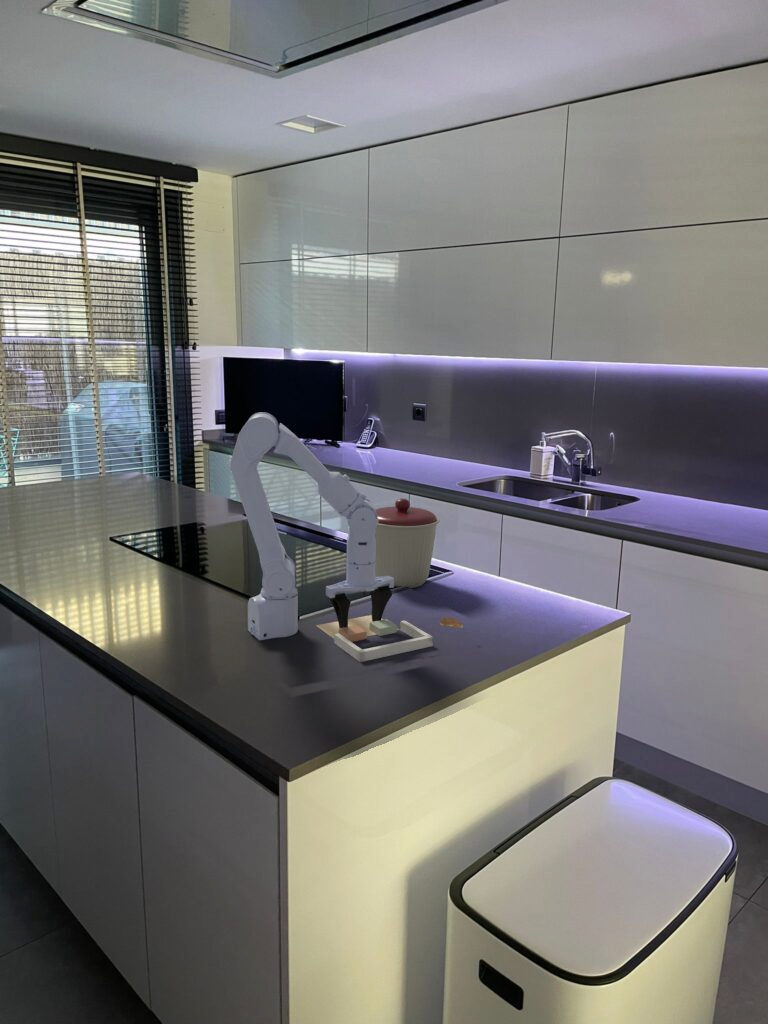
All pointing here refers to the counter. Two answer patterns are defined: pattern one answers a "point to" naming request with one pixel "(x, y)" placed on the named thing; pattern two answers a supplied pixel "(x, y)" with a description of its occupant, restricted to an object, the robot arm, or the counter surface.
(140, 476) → the counter surface
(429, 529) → the canister
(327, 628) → the maple board
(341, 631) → the terracotta tile
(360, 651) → the tray
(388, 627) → the sage tile
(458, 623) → the shard
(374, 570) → the robot arm
